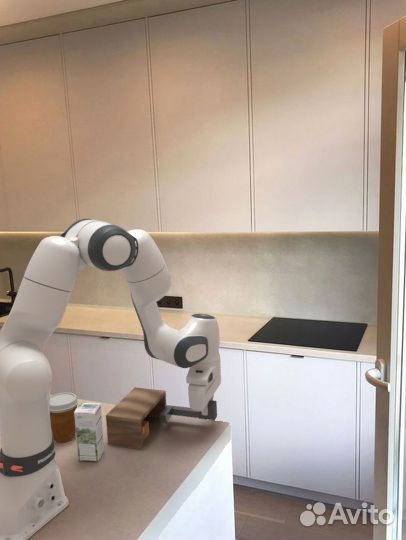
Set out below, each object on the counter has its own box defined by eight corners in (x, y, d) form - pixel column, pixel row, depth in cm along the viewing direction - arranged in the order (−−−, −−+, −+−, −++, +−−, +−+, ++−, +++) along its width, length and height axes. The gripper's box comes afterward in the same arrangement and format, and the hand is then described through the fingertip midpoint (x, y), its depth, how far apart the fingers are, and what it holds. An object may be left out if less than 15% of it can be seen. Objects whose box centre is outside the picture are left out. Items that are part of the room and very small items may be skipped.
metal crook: (210, 428, 140) (209, 412, 139) (159, 422, 144) (158, 406, 143) (217, 416, 146) (216, 400, 145) (169, 410, 151) (168, 395, 150)
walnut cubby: (141, 449, 136) (139, 419, 134) (107, 444, 139) (105, 415, 137) (166, 417, 153) (165, 390, 152) (136, 413, 157) (134, 387, 155)
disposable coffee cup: (40, 442, 141) (37, 404, 139) (60, 426, 150) (57, 390, 147) (69, 447, 138) (65, 408, 135) (87, 431, 147) (84, 393, 144)
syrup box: (104, 450, 136) (101, 401, 133) (98, 462, 130) (94, 412, 127) (85, 449, 136) (81, 401, 134) (77, 462, 131) (73, 411, 128)
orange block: (143, 440, 140) (142, 428, 140) (130, 439, 142) (130, 426, 141) (149, 433, 144) (148, 421, 143) (136, 432, 145) (136, 419, 145)
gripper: (205, 353, 154) (207, 394, 156) (183, 380, 134) (186, 426, 137) (225, 355, 152) (226, 396, 154) (205, 382, 133) (207, 429, 135)
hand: (207, 411), depth 146 cm, fingers closed on metal crook, 3 cm apart
